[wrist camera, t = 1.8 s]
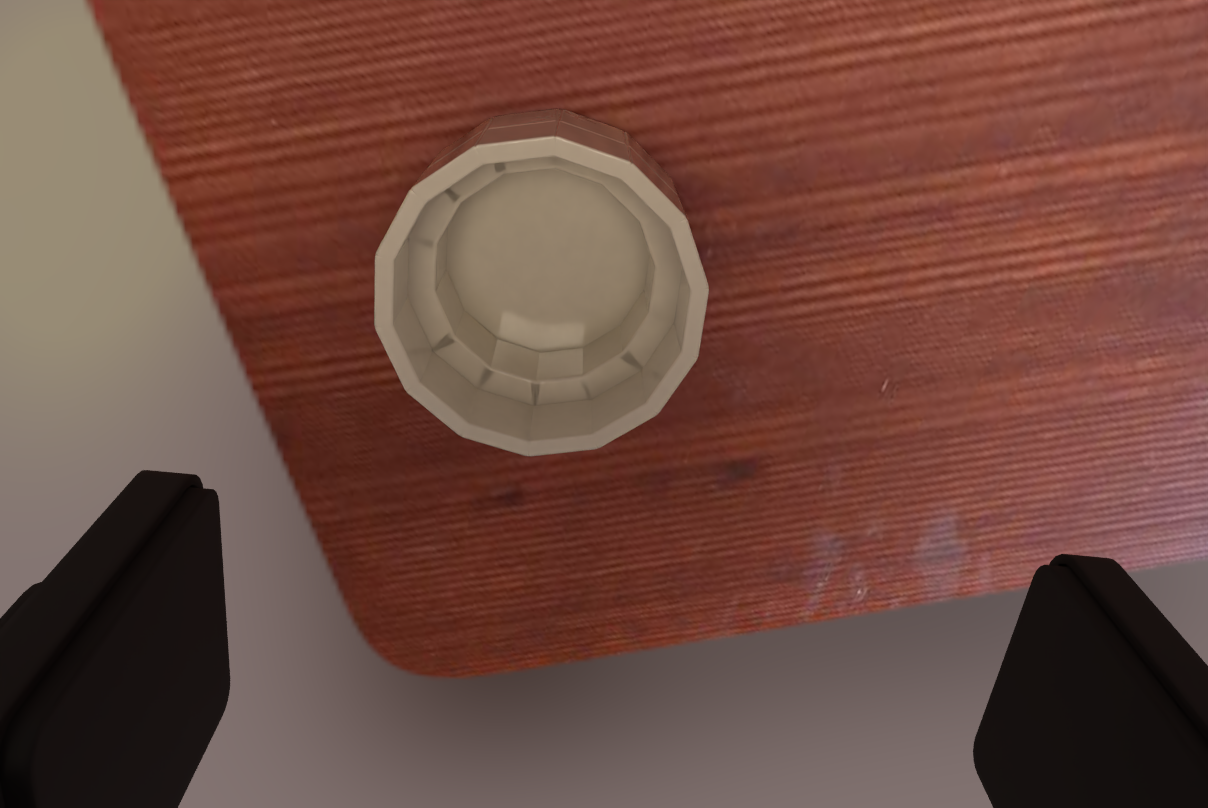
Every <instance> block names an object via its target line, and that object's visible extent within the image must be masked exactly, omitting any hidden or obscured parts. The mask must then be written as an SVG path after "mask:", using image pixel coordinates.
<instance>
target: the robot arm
mask: <svg viewBox="0 0 1208 808" xmlns="http://www.w3.org/2000/svg"><path fill="white" fill-rule="evenodd" d="M229 690H230V669H229V654H228V637H227V621H226V606H225V590H224V575H223V559H222V543H221V528H220V512H219V500H218V495H217V493H216V491H215V490H213V489H203V484H202V482H201V480H200V478H199V477H198V476H197V475H192V474H182V473H172V472H159V471H150V470H144V471H141V472H140V473H138V474H137V475H136V476H135V477H134V478H133V480H132V481H131V482H130V483H129V484H128V485H127V486H126V487H125V489H124V490H123V491H122V492H121V493H120V494H119V496H117V498H116V499H115V500H114V501H113V502H112V503H111V504H110V505H109V507H108V508H107V509H106V510H105V511H104V512H103V513H102V515H101V516H100V517H99V518H98V519H97V520H96V521H95V522H94V524H93V525H92V526H91V527H90V528H89V529H88V530H87V532H86V533H85V534H84V535H83V536H82V537H81V538H80V540H79V541H78V542H77V543H76V544H75V545H74V546H73V547H72V549H71V550H70V551H69V552H68V553H67V554H66V555H65V556H64V558H63V559H62V560H61V561H60V562H59V563H58V564H57V566H56V567H55V568H54V569H53V570H52V571H51V572H50V573H49V575H48V576H47V577H46V578H45V579H44V580H43V581H42V582H40V583H37V584H34V585H32V586H31V587H30V588H29V589H28V590H26V591H25V592H24V593H23V594H22V595H21V596H20V597H19V598H18V599H17V601H16V602H15V603H14V604H13V605H12V606H11V607H10V608H9V609H8V611H7V612H6V613H5V614H4V615H3V616H2V617H1V618H0V808H178V806H179V804H180V802H181V800H182V798H183V796H184V793H185V791H186V790H187V787H188V785H189V783H190V781H191V779H192V777H193V775H194V773H195V771H196V769H197V767H198V765H199V763H200V761H201V759H202V757H203V755H204V753H205V751H206V749H207V746H208V744H209V742H210V740H211V738H212V736H213V734H214V732H215V730H216V728H217V726H218V724H219V721H220V720H221V717H222V716H223V713H224V711H225V708H226V705H227V701H228V696H229ZM973 756H974V764H975V768H976V771H977V774H978V776H979V778H980V780H981V782H982V785H983V787H984V789H985V791H986V793H987V795H988V797H989V799H990V801H991V804H992V806H993V808H1208V666H1207V665H1206V664H1205V662H1204V661H1203V660H1202V659H1201V658H1200V656H1199V655H1198V654H1197V653H1196V652H1195V651H1194V650H1193V648H1192V647H1191V646H1190V645H1189V644H1188V643H1187V642H1186V641H1185V639H1184V638H1183V637H1182V636H1181V635H1180V634H1179V632H1178V631H1177V630H1176V629H1175V628H1174V627H1173V626H1172V624H1171V623H1170V622H1169V621H1168V620H1167V619H1166V618H1165V617H1164V615H1163V614H1162V613H1161V612H1160V611H1159V609H1158V608H1157V607H1156V606H1155V605H1154V604H1153V603H1152V601H1151V600H1150V599H1149V598H1148V597H1147V596H1146V594H1145V593H1144V592H1143V591H1142V590H1141V589H1140V588H1139V587H1138V585H1137V584H1136V583H1135V582H1134V581H1133V580H1132V578H1131V577H1130V576H1129V575H1128V574H1127V573H1126V571H1125V570H1124V569H1123V568H1122V567H1121V566H1120V565H1119V564H1118V563H1117V562H1116V561H1114V560H1113V559H1109V558H1101V557H1090V556H1079V555H1068V554H1061V555H1058V556H1056V557H1055V558H1054V559H1053V560H1052V561H1051V562H1050V564H1049V565H1043V566H1040V567H1039V568H1038V569H1037V571H1036V573H1035V575H1034V577H1033V579H1032V582H1031V585H1030V588H1029V590H1028V593H1027V596H1026V599H1025V601H1024V604H1023V607H1022V610H1021V612H1020V615H1019V618H1018V621H1017V624H1016V626H1015V629H1014V632H1013V635H1012V637H1011V640H1010V643H1009V646H1008V648H1007V651H1006V654H1005V657H1004V660H1003V662H1002V665H1001V668H1000V671H999V674H998V676H997V680H996V682H995V684H994V687H993V690H992V693H991V695H990V698H989V701H988V704H987V707H986V709H985V712H984V715H983V718H982V720H981V723H980V726H979V729H978V732H977V734H976V737H975V741H974V749H973Z"/></svg>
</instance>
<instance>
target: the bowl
mask: <svg viewBox="0 0 1208 808" xmlns="http://www.w3.org/2000/svg"><path fill="white" fill-rule="evenodd" d="M708 295H709V285H708V282H707V279H706V275H705V272H704V269H703V266H702V263H701V260H700V257H699V254H698V251H697V247H696V244H695V241H694V238H693V235H692V232H691V229H690V226H689V223H688V219H687V217H686V214H685V212H684V209H683V206H682V204H681V201H680V199H679V196H678V193H677V191H676V188H675V185H674V183H673V182H672V180H671V177H670V176H669V175H668V174H667V173H666V172H665V171H664V170H663V169H662V168H661V167H660V166H659V165H658V164H657V163H656V162H655V161H654V160H653V159H652V158H651V157H650V156H649V155H648V153H647V152H646V151H645V150H644V149H643V148H642V147H641V146H640V145H639V144H638V143H637V142H636V141H635V140H634V139H633V138H632V137H631V136H630V135H629V134H628V133H627V132H624V131H623V130H621V129H618V128H615V127H613V126H610V125H607V124H604V123H601V122H598V121H596V120H593V119H590V118H587V117H584V116H581V115H579V114H576V113H573V112H570V111H567V110H561V111H560V109H550V110H542V111H534V112H525V113H517V114H509V115H501V116H496V117H494V118H490V119H488V120H487V121H485V122H484V123H482V124H481V125H479V126H478V127H476V128H475V129H473V130H472V131H470V132H469V133H468V134H466V135H465V136H463V137H462V138H460V139H459V140H457V141H456V142H454V143H453V144H451V145H450V146H448V147H447V148H445V149H444V150H442V151H441V152H440V153H439V154H438V155H437V157H435V159H434V160H433V161H432V162H431V164H430V165H429V166H428V168H427V169H426V170H425V171H424V172H423V173H422V175H421V176H420V177H419V179H418V180H417V181H416V182H415V184H414V185H413V186H412V188H411V189H410V190H409V192H408V194H407V195H406V197H405V199H404V201H403V203H402V205H401V207H400V209H399V210H398V212H397V214H396V216H395V218H394V220H393V222H392V223H391V225H390V227H389V229H388V231H387V233H386V235H385V236H384V238H383V240H382V242H381V244H380V246H379V248H378V249H377V251H376V255H375V290H374V325H375V330H376V332H377V334H378V336H379V338H380V340H381V342H382V344H383V346H384V348H385V350H386V352H387V354H388V356H389V358H390V360H391V363H392V365H393V367H394V369H395V371H396V373H397V375H398V377H399V379H400V381H401V383H402V385H403V387H404V389H405V390H406V392H407V393H408V394H409V395H411V396H412V397H413V398H414V399H415V400H417V401H418V402H419V403H420V404H421V405H423V406H424V407H425V408H426V409H427V410H429V411H430V412H431V413H432V414H434V415H435V416H436V417H437V418H438V419H440V420H441V421H442V422H443V423H444V424H446V425H447V426H448V427H449V428H450V429H452V430H453V431H454V432H455V433H456V434H458V435H459V436H461V437H463V438H467V439H470V440H473V441H477V442H480V443H484V444H487V445H490V446H494V447H497V448H500V449H504V450H507V451H511V452H514V453H517V454H521V455H524V456H538V455H548V454H557V453H566V452H575V451H584V450H593V449H597V448H600V447H602V446H604V445H605V444H607V443H609V442H611V441H613V440H614V439H616V438H618V437H620V436H621V435H623V434H625V433H627V432H628V431H630V430H632V429H634V428H635V427H637V426H639V425H641V424H642V423H644V422H646V421H648V420H649V419H651V418H653V417H655V416H656V415H657V414H658V413H659V412H660V411H661V410H662V408H663V407H664V405H665V404H666V403H667V401H668V400H669V398H670V397H671V396H672V394H673V393H674V391H675V390H676V389H677V387H678V386H679V384H680V383H681V382H682V380H683V379H684V377H685V376H686V375H687V373H688V372H689V370H690V369H691V368H692V366H693V365H694V363H695V362H696V360H697V358H698V356H699V350H700V344H701V338H702V332H703V326H704V319H705V313H706V307H707V301H708Z"/></svg>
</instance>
